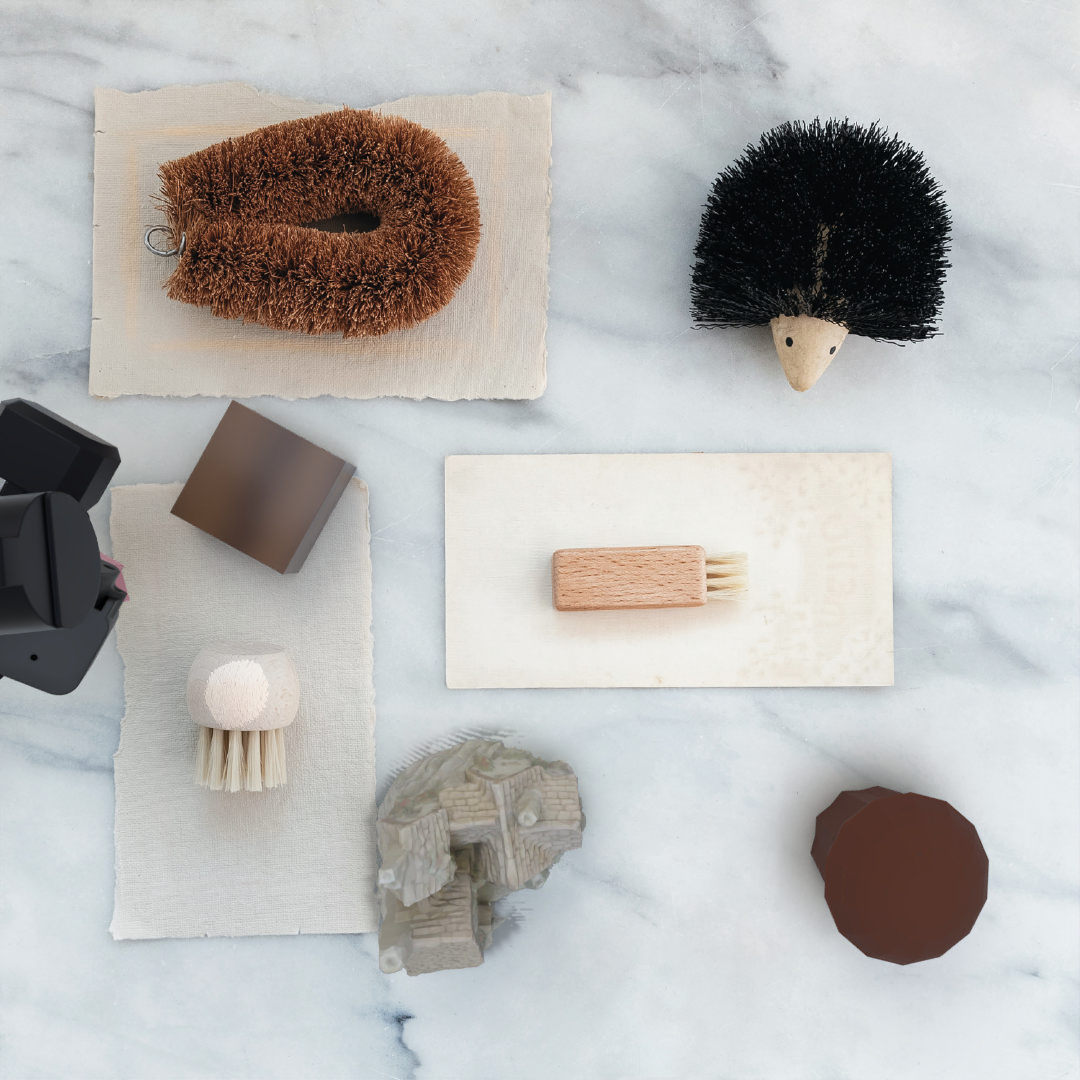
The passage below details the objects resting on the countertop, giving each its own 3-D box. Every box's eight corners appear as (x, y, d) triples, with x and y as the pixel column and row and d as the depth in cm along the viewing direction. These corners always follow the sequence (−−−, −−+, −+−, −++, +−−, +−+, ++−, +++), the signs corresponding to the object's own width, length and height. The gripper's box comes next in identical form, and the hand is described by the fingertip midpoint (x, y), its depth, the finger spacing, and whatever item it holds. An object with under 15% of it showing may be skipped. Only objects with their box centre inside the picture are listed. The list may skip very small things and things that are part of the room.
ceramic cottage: (365, 946, 63) (331, 1060, 48) (384, 725, 64) (358, 770, 49) (571, 956, 64) (601, 1070, 49) (587, 739, 65) (622, 786, 50)
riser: (197, 515, 64) (169, 512, 59) (255, 411, 64) (232, 399, 59) (302, 572, 64) (282, 574, 59) (360, 468, 64) (345, 461, 59)
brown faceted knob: (839, 741, 64) (896, 777, 54) (967, 808, 64) (1049, 856, 54) (767, 880, 64) (811, 942, 54) (896, 948, 64) (964, 1022, 54)
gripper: (-72, 851, 37) (107, 762, 53) (134, 484, 38) (251, 503, 53) (-291, 730, 37) (-48, 677, 53) (-84, 364, 38) (97, 418, 53)
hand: (67, 571), depth 53 cm, fingers closed on boat, 3 cm apart
